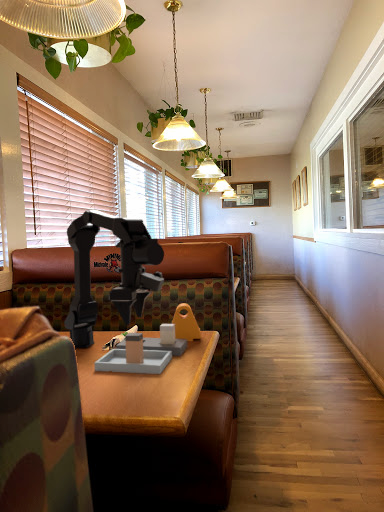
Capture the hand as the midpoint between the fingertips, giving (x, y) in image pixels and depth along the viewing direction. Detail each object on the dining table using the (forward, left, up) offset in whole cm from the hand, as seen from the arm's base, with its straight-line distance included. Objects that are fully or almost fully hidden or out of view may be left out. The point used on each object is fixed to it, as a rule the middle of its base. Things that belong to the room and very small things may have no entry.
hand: (133, 321), depth 102 cm
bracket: (+8, +27, -12) cm, 31 cm away
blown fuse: (0, 0, -12) cm, 12 cm away
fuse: (+6, +13, -12) cm, 19 cm away
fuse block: (+1, +13, -12) cm, 18 cm away
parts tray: (0, 0, -12) cm, 12 cm away
